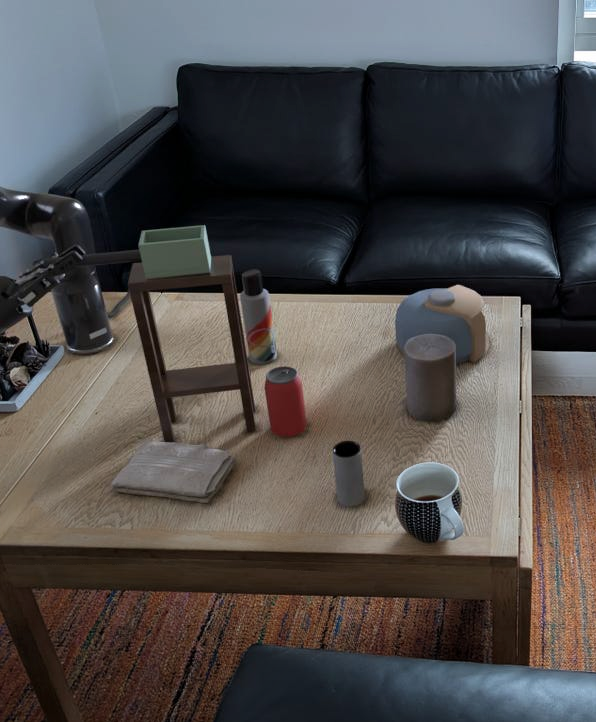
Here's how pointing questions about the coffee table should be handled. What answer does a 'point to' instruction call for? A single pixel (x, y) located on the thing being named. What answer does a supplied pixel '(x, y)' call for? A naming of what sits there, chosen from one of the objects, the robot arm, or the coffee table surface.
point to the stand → (194, 378)
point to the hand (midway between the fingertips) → (79, 252)
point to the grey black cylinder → (348, 473)
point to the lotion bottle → (257, 318)
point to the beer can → (285, 402)
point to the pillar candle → (430, 376)
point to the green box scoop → (161, 253)
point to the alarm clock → (445, 319)
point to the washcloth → (175, 471)
